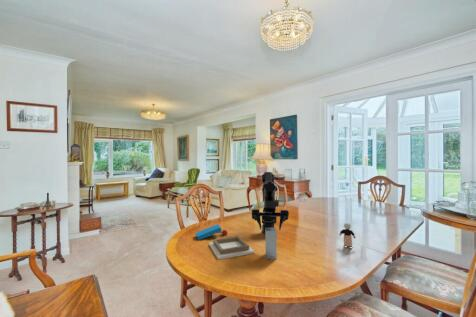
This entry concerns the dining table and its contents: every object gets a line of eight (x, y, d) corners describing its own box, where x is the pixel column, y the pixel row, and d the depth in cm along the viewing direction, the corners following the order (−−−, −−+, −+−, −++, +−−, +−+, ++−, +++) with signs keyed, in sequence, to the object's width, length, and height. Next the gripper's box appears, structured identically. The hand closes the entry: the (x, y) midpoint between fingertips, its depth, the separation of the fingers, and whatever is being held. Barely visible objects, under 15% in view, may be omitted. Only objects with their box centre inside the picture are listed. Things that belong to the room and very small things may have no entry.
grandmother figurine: (354, 246, 118) (354, 222, 118) (355, 249, 114) (356, 224, 114) (338, 244, 120) (338, 220, 120) (339, 247, 117) (339, 222, 117)
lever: (200, 248, 127) (229, 235, 133) (197, 236, 126) (226, 224, 132) (198, 243, 134) (226, 232, 139) (195, 232, 133) (223, 221, 139)
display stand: (240, 240, 126) (240, 234, 126) (253, 253, 109) (253, 246, 109) (209, 244, 120) (209, 238, 120) (218, 259, 103) (218, 252, 103)
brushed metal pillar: (265, 254, 109) (265, 227, 108) (275, 254, 108) (275, 227, 108) (265, 258, 104) (265, 230, 103) (276, 259, 103) (276, 231, 103)
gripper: (251, 193, 116) (250, 221, 105) (288, 194, 114) (291, 222, 104) (252, 205, 124) (251, 232, 113) (286, 206, 122) (289, 233, 111)
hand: (270, 229), depth 110 cm, fingers open, 9 cm apart
